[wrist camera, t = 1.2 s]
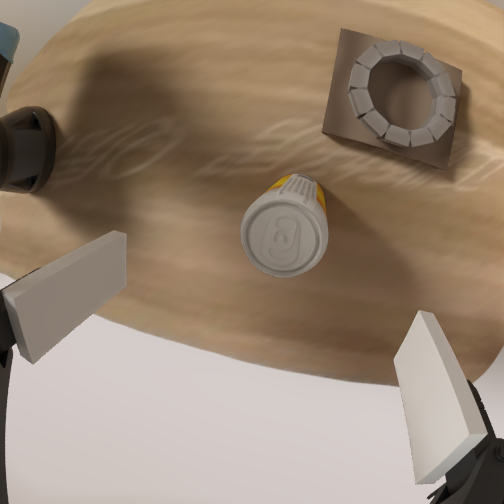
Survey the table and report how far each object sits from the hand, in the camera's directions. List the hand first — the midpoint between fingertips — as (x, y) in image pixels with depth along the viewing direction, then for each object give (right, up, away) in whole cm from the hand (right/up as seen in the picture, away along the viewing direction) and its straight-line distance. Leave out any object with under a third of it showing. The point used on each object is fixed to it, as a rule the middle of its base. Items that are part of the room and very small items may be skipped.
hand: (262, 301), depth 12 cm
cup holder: (+15, +18, +15) cm, 28 cm away
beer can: (+5, +8, +21) cm, 23 cm away
